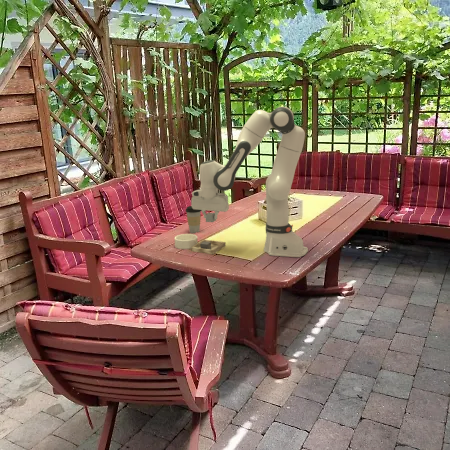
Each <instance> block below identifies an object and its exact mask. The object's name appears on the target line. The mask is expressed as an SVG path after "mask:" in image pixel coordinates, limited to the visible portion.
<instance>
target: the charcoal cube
mask: <svg viewBox="0 0 450 450" xmlns="http://www.w3.org/2000/svg"><path fill="white" fill-rule="evenodd" d="M200 246H201V248H203V249H210V250H211V242H206V241H204V242H202V243H201V244H200Z"/></svg>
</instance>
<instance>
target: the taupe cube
mask: <svg viewBox="0 0 450 450" xmlns="http://www.w3.org/2000/svg"><path fill="white" fill-rule="evenodd" d="M215 214H216V213H215V212H207V213H206V214H205V217H206V218H205V222H206V223H215V222H216V221H217V219H213V216H214V215H215Z"/></svg>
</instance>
